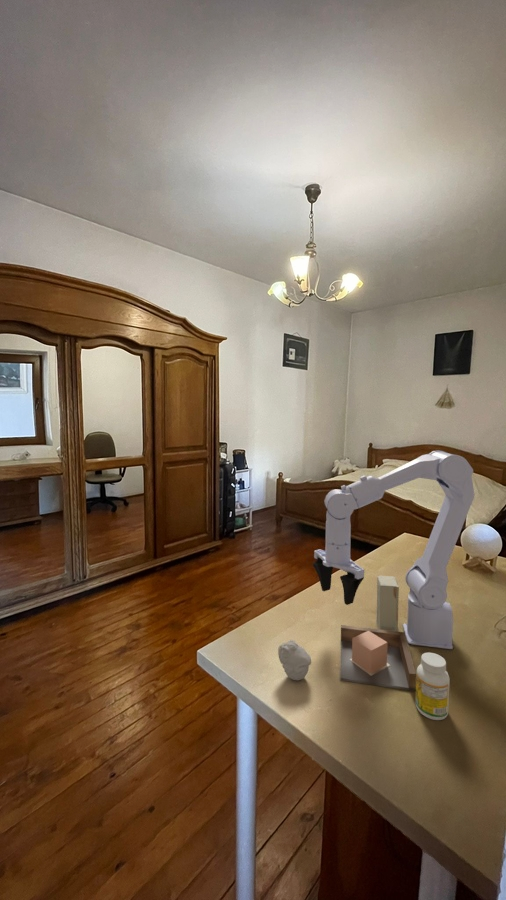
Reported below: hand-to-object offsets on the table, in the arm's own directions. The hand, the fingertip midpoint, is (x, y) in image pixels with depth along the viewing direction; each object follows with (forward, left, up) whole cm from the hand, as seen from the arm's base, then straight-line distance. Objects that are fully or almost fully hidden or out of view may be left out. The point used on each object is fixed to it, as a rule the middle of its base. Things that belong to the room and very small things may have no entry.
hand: (337, 596), depth 91 cm
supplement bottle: (-17, +20, -10) cm, 28 cm away
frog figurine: (+8, +17, -10) cm, 21 cm away
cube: (-7, +10, -9) cm, 15 cm away
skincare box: (-12, -5, -10) cm, 16 cm away
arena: (-8, +9, -9) cm, 15 cm away
